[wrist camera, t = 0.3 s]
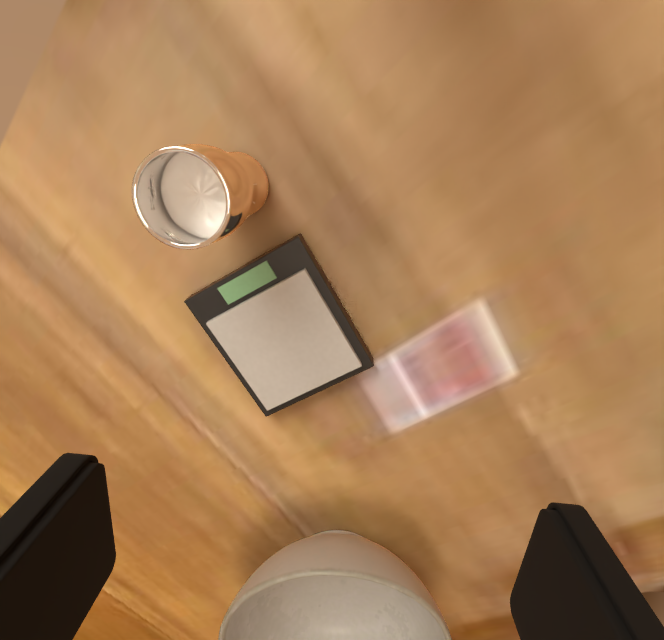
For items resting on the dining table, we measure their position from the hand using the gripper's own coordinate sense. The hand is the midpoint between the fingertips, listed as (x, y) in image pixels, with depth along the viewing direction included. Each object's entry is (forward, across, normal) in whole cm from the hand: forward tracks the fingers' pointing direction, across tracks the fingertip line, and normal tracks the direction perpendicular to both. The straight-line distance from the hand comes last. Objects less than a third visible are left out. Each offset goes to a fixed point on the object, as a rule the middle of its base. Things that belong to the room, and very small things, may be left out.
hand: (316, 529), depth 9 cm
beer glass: (+36, +11, -4) cm, 38 cm away
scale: (+36, +6, +11) cm, 38 cm away
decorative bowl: (+37, -4, +45) cm, 59 cm away
